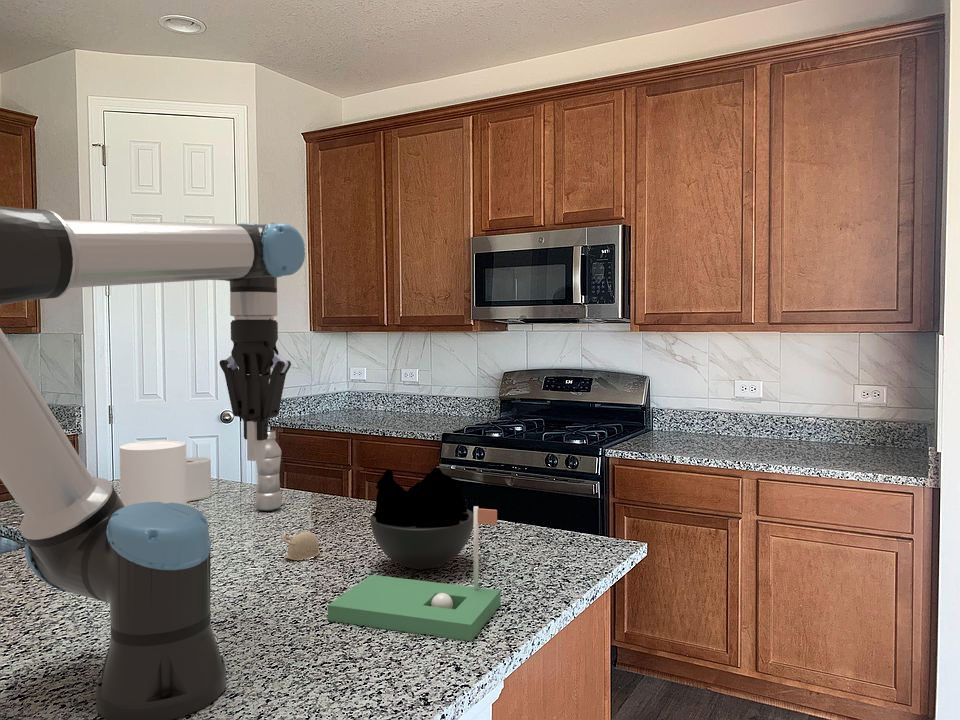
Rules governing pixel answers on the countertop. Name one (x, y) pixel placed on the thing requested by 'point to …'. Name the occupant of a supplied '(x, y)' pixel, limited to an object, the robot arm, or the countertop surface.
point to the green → (420, 601)
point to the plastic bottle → (269, 476)
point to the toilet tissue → (198, 478)
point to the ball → (442, 601)
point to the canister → (153, 472)
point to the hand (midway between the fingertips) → (256, 459)
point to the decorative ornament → (302, 546)
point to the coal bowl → (421, 520)
